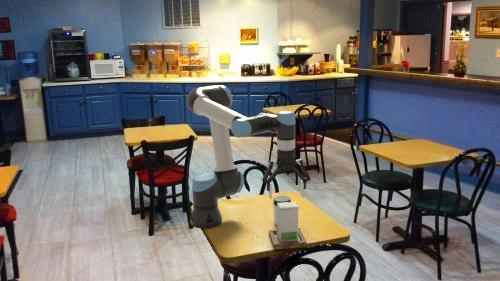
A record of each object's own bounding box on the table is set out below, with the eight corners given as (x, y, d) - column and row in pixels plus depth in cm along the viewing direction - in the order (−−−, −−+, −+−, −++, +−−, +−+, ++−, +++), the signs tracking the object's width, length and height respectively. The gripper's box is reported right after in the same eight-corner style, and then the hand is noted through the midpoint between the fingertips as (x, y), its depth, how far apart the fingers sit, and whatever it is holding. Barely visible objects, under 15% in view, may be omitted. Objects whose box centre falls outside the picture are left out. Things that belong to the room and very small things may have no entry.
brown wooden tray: (273, 249, 194) (273, 244, 194) (268, 234, 209) (268, 229, 208) (306, 246, 196) (306, 242, 195) (299, 232, 210) (299, 227, 210)
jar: (280, 227, 216) (279, 203, 213) (269, 222, 223) (269, 198, 220) (295, 222, 221) (294, 198, 218) (284, 217, 228) (284, 194, 225)
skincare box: (279, 242, 198) (279, 207, 195) (276, 236, 205) (276, 202, 201) (298, 240, 199) (298, 206, 196) (295, 234, 206) (295, 201, 202)
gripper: (257, 152, 188) (258, 201, 193) (317, 149, 191) (317, 198, 195) (255, 147, 196) (256, 195, 200) (313, 145, 198) (313, 192, 203)
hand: (286, 197), depth 198 cm, fingers open, 13 cm apart
